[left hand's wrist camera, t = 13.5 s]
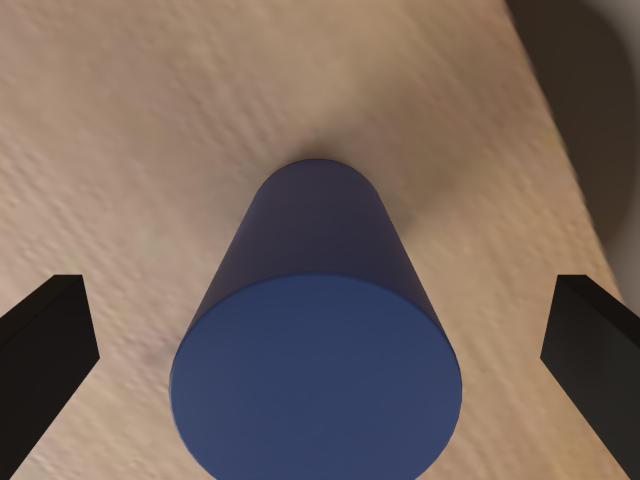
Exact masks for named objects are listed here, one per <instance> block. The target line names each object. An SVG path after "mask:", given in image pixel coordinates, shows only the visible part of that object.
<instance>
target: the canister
mask: <svg viewBox="0 0 640 480" xmlns="http://www.w3.org/2000/svg"><path fill="white" fill-rule="evenodd" d="M169 398H170V408H171V412H172V416H173V420H174V424H175V426H176V429H177V431H178V433H179V436H180V438H181V440H182V441H183V443H184V445H185V446H186V448H187V450H188V451H189V452H190V454H191V455H192V456H193V457H194V459H195V460H196V461H197V462H198V464H199V465H201V466H202V467H203V468H204V469H205V470H206V471H207V472H208V473H209V474H210V475H211V476H213V477H214V478H215V479H217V480H415V479H416V478H417V477H418V476H420V475H421V474H422V473H423V472H425V471H426V470H427V469H428V468H429V467H430V466H431V464H432V463H433V462H434V461H435V460H436V459H437V458H438V457H439V455H440V454H441V452H442V451H443V450H444V448H445V447H446V445H447V443H448V442H449V440H450V438H451V436H452V434H453V432H454V429H455V426H456V424H457V421H458V418H459V413H460V407H461V402H462V380H461V373H460V368H459V364H458V361H457V358H456V355H455V352H454V350H453V348H452V346H451V344H450V342H449V340H448V338H447V336H446V334H445V331H444V329H443V327H442V325H441V323H440V321H439V319H438V317H437V315H436V313H435V311H434V309H433V307H432V305H431V303H430V300H429V298H428V296H427V294H426V292H425V290H424V288H423V286H422V284H421V282H420V280H419V278H418V276H417V274H416V272H415V269H414V267H413V265H412V263H411V261H410V259H409V257H408V255H407V253H406V251H405V249H404V247H403V245H402V243H401V241H400V238H399V236H398V234H397V232H396V230H395V228H394V226H393V224H392V222H391V220H390V218H389V216H388V214H387V212H386V210H385V207H384V205H383V203H382V201H381V199H380V197H379V195H378V193H377V192H376V190H375V189H374V187H373V186H372V184H371V183H370V182H369V181H368V180H367V179H366V178H365V177H364V176H363V175H361V174H360V173H359V172H357V171H356V170H354V169H353V168H351V167H349V166H347V165H344V164H342V163H339V162H336V161H331V160H325V159H310V160H303V161H299V162H295V163H292V164H290V165H287V166H285V167H283V168H281V169H280V170H278V171H277V172H275V173H274V174H273V175H271V176H270V177H269V178H268V179H267V180H266V181H265V182H264V183H263V185H262V186H261V187H260V188H259V190H258V192H257V193H256V195H255V197H254V199H253V201H252V203H251V205H250V207H249V209H248V211H247V213H246V215H245V217H244V219H243V221H242V223H241V225H240V227H239V229H238V231H237V233H236V235H235V237H234V239H233V241H232V243H231V244H230V246H229V248H228V250H227V252H226V254H225V256H224V258H223V260H222V262H221V264H220V266H219V268H218V270H217V272H216V274H215V276H214V278H213V280H212V282H211V284H210V286H209V288H208V290H207V292H206V294H205V296H204V298H203V300H202V302H201V304H200V306H199V308H198V310H197V312H196V314H195V316H194V318H193V320H192V322H191V324H190V326H189V328H188V330H187V332H186V334H185V336H184V338H183V340H182V342H181V344H180V346H179V348H178V351H177V353H176V355H175V358H174V361H173V365H172V369H171V373H170V382H169Z"/></svg>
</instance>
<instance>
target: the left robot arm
mask: <svg viewBox="0 0 640 480" xmlns="http://www.w3.org/2000/svg"><path fill="white" fill-rule="evenodd" d="M99 359H100V356H99V351H98V347H97V342H96V337H95V333H94V328H93V323H92V319H91V314H90V309H89V304H88V300H87V295H86V290H85V286H84V281H83V276H82V275H53V276H52V277H51V278H50V279H48V280H47V281H46V282H45V283H43V284H42V285H41V286H40V287H38V288H37V289H36V290H35V291H33V292H32V293H31V294H30V295H28V296H27V297H26V298H25V299H23V300H22V301H21V302H20V303H18V304H17V305H16V306H15V307H13V308H12V309H11V310H10V311H8V312H7V313H6V314H5V315H3V316H2V317H1V318H0V480H10V478H11V477H12V476H13V474H14V473H15V472H16V470H17V469H18V467H19V466H20V465H21V463H22V462H23V461H24V459H25V458H26V457H27V455H28V454H29V453H30V451H31V450H32V449H33V447H34V446H35V445H36V443H37V442H38V441H39V439H40V438H41V437H42V435H43V434H44V433H45V431H46V430H47V429H48V427H49V426H50V425H51V423H52V422H53V421H54V419H55V418H56V416H57V415H58V414H59V412H60V411H61V410H62V408H63V407H64V406H65V404H66V403H67V402H68V400H69V399H70V398H71V396H72V395H73V394H74V392H75V391H76V390H77V388H78V387H79V386H80V384H81V383H82V382H83V380H84V379H85V378H86V376H87V375H88V374H89V372H90V371H91V370H92V368H93V367H94V365H95V364H96V363H97V361H98V360H99ZM540 359H541V360H542V361H543V363H544V364H545V365H546V367H547V368H548V370H549V371H550V372H551V374H552V375H553V376H554V378H555V379H556V380H557V382H558V383H559V384H560V386H561V387H562V388H563V390H564V391H565V392H566V394H567V395H568V396H569V398H570V399H571V400H572V402H573V403H574V404H575V406H576V407H577V408H578V410H579V411H580V412H581V414H582V415H583V416H584V418H585V419H586V421H587V422H588V423H589V425H590V426H591V427H592V429H593V430H594V431H595V433H596V434H597V435H598V437H599V438H600V439H601V441H602V442H603V443H604V445H605V446H606V447H607V449H608V450H609V451H610V453H611V454H612V455H613V457H614V458H615V459H616V461H617V462H618V463H619V465H620V466H621V467H622V469H623V470H624V472H625V473H626V474H627V476H628V477H629V478H630V480H640V318H639V317H638V316H637V315H635V314H634V313H633V312H632V311H630V310H629V309H628V308H627V307H625V306H624V305H623V304H622V303H620V302H619V301H618V300H617V299H615V298H614V297H613V296H612V295H610V294H609V293H608V292H607V291H605V290H604V289H603V288H602V287H600V286H599V285H598V284H597V283H595V282H594V281H593V280H592V279H590V278H589V277H588V276H587V275H558V276H557V281H556V286H555V290H554V295H553V300H552V304H551V309H550V314H549V318H548V323H547V328H546V333H545V337H544V342H543V347H542V351H541V356H540Z"/></svg>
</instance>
